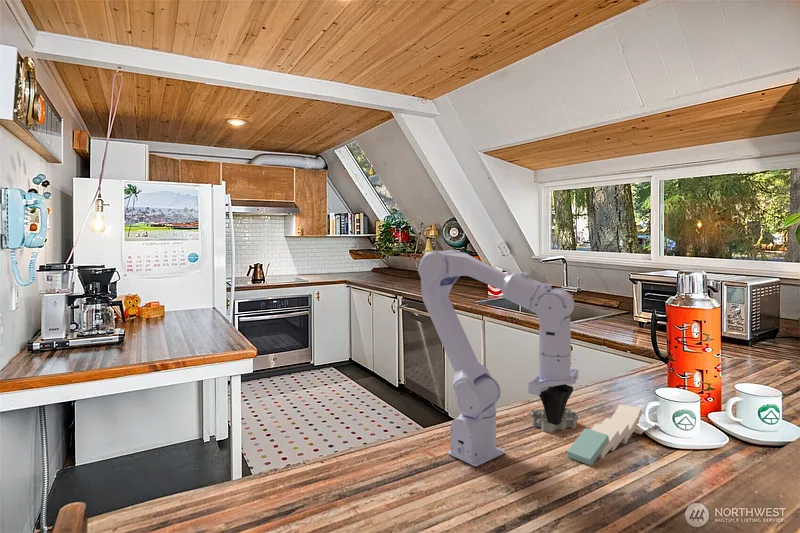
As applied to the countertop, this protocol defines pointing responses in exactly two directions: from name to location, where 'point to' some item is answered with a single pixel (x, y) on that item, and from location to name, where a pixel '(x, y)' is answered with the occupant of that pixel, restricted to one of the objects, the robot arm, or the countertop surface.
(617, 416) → the domino
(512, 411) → the countertop surface
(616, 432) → the domino
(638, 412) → the domino
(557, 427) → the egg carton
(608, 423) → the domino
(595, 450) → the domino
